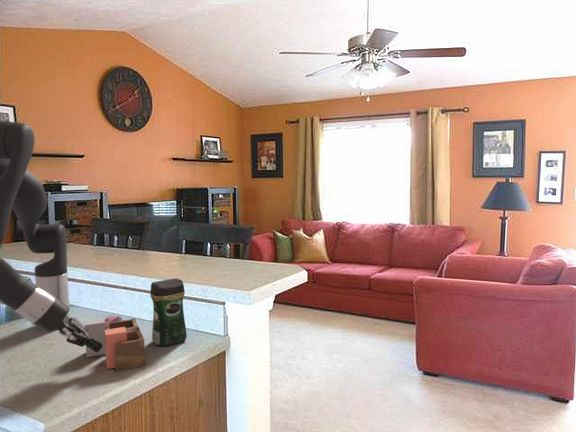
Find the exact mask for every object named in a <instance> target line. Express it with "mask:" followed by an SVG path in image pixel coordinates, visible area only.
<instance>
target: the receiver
mask: <svg viewBox="0 0 576 432" xmlns="http://www.w3.org/2000/svg"><path fill="white" fill-rule="evenodd" d="M109 325H110V329H114V328H121V327H125V329H126V332H127V341H126V342H120V343H115V356H116V368H115V370H116V372H120V371H126V370H131V369H134V368H141V367H145V366H146V351H145V350H146V348H145V338H144V336H143V334H142V332H141V329H140V327H139V325H138V323H137V320H136V318H130V319H129V318H128V319H124V320H123V319H122V320H121V321H115V322H109Z"/></svg>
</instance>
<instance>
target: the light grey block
mask: <svg viewBox="0 0 576 432" xmlns="http://www.w3.org/2000/svg"><path fill="white" fill-rule="evenodd" d="M104 320H105V317H102V318H101V317H100V318H95V319H94V318H93V319H87V320H84V323H83V324H84V327H85V328H86V329H87V330H88V331H89V333H90V334H91V336H92V337H93V338H95V339H96V340H98V341H99V342H100V343H102V346H103V347H102V348H101V349H100V351H99V352H95V351H93V350H92V349H90V348H89V347H87V346H86V345H85V354H86V358H90V357H91V358H92V357H96V356H102V355H106V351H105V321H104Z"/></svg>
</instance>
